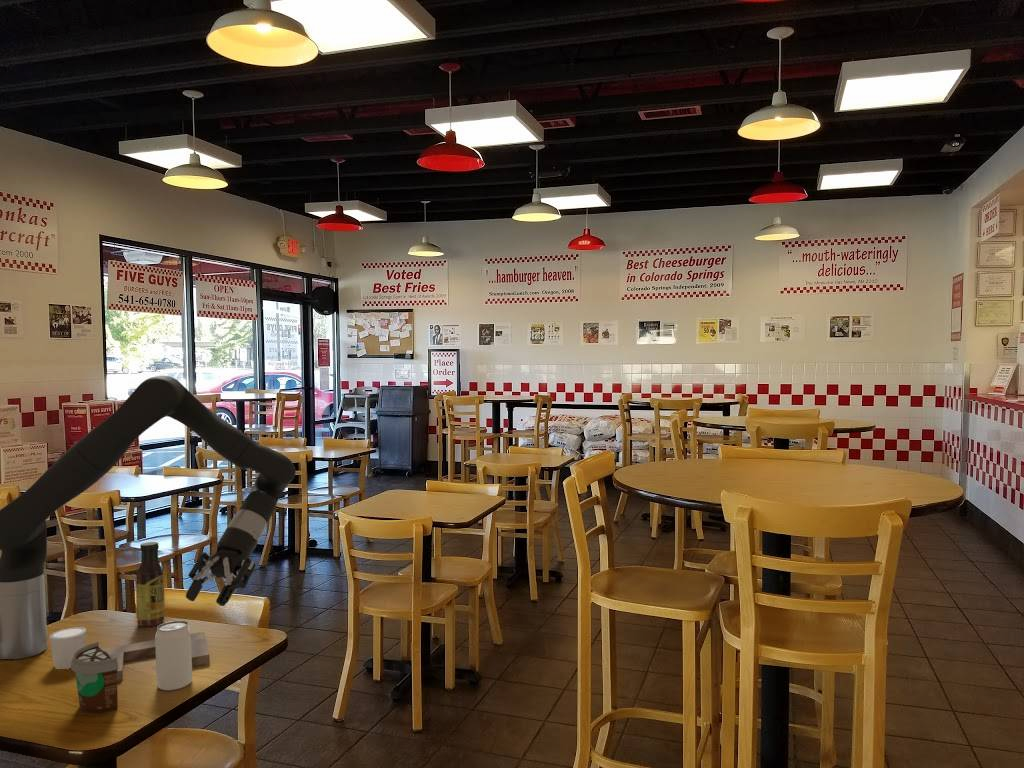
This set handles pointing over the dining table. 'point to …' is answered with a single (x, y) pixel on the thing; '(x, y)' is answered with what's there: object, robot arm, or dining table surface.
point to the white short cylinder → (66, 645)
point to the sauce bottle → (150, 587)
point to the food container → (95, 679)
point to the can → (173, 655)
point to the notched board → (148, 649)
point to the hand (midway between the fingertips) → (204, 601)
